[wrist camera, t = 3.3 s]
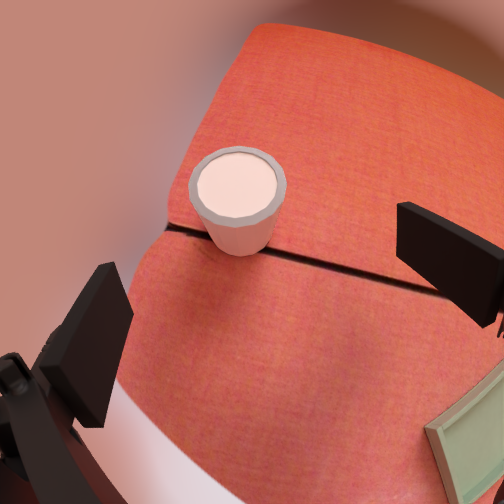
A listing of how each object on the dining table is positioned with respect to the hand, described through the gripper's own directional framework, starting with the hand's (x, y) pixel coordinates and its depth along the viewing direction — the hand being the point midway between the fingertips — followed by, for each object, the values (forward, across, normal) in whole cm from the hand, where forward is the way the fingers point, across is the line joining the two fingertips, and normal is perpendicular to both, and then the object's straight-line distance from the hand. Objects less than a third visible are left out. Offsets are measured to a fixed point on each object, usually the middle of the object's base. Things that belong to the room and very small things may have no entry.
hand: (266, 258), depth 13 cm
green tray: (-4, +19, -22) cm, 29 cm away
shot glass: (+14, 0, -3) cm, 15 cm away
